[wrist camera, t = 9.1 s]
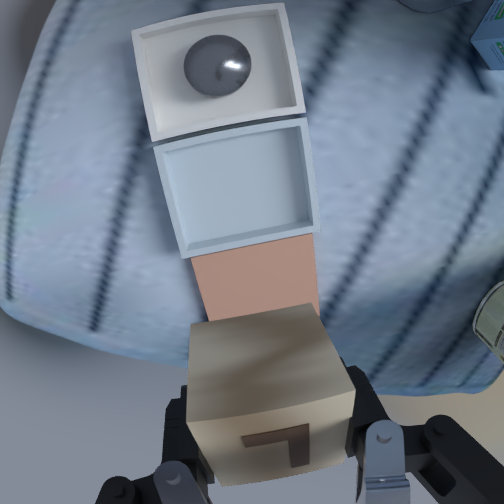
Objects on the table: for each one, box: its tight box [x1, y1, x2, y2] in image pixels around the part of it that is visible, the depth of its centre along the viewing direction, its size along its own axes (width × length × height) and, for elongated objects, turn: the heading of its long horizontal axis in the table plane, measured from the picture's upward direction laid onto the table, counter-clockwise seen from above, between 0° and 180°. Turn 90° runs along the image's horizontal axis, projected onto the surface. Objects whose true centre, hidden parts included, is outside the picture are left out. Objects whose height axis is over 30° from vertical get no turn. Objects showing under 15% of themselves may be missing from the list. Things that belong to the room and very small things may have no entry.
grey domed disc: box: [184, 35, 251, 98], centre depth 21 cm, size 5×5×2 cm
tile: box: [191, 233, 320, 321], centre depth 30 cm, size 11×9×1 cm
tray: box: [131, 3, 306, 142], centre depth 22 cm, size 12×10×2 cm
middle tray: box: [153, 117, 321, 259], centre depth 26 cm, size 12×10×2 cm
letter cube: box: [186, 302, 356, 487], centre depth 11 cm, size 5×5×5 cm
